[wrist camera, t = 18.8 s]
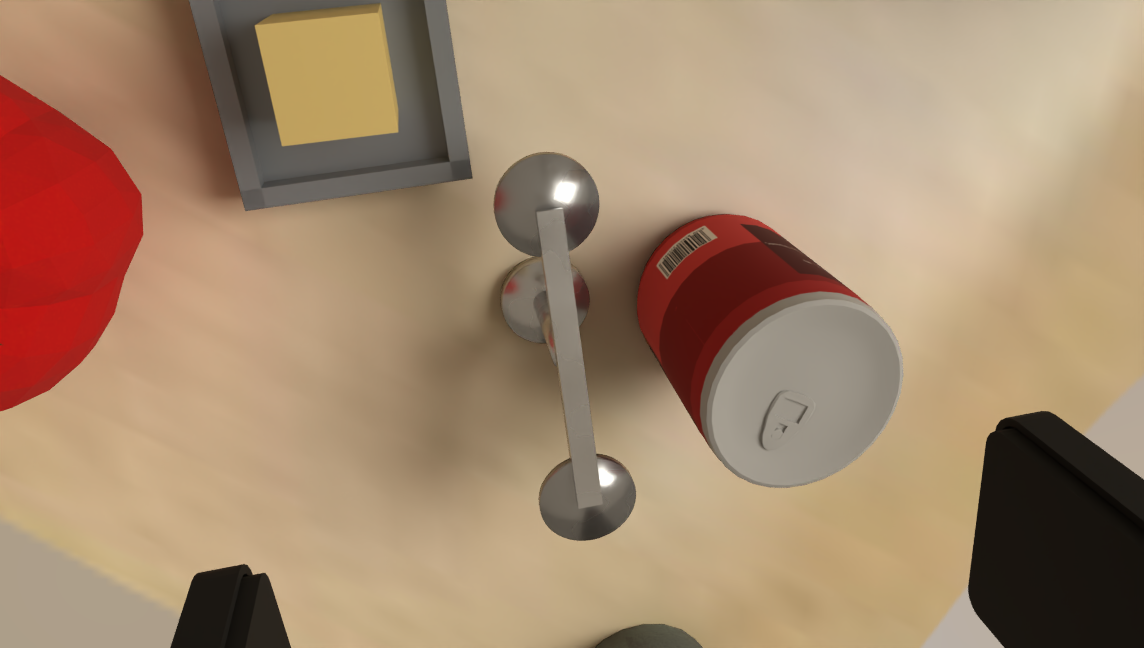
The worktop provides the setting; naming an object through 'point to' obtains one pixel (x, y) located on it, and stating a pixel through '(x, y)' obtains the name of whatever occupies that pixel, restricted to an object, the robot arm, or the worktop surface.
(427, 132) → the dish
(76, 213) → the tomato
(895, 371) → the canned food
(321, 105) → the block
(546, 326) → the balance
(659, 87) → the worktop surface
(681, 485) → the worktop surface
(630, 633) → the bottle
